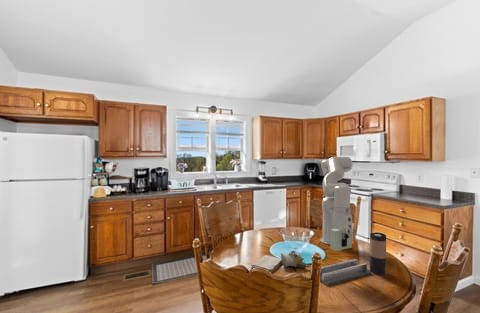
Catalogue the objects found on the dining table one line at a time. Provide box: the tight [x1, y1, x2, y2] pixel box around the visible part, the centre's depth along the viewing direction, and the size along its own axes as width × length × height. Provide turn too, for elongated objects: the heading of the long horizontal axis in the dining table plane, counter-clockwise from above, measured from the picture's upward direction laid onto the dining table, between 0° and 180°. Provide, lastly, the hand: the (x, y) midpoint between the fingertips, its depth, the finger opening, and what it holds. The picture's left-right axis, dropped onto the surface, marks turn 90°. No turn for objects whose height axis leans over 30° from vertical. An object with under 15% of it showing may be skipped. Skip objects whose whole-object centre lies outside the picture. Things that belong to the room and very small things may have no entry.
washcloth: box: [251, 254, 283, 274], centre depth 135 cm, size 12×18×3 cm, turn 148°
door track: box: [309, 258, 372, 287], centre depth 126 cm, size 30×12×4 cm, turn 115°
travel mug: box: [369, 232, 387, 276], centre depth 129 cm, size 8×8×20 cm
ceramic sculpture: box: [280, 250, 311, 269], centre depth 135 cm, size 11×9×15 cm
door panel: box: [329, 229, 353, 252], centre depth 126 cm, size 12×3×10 cm, turn 115°
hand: (341, 244), depth 126 cm, fingers closed on door panel, 3 cm apart
